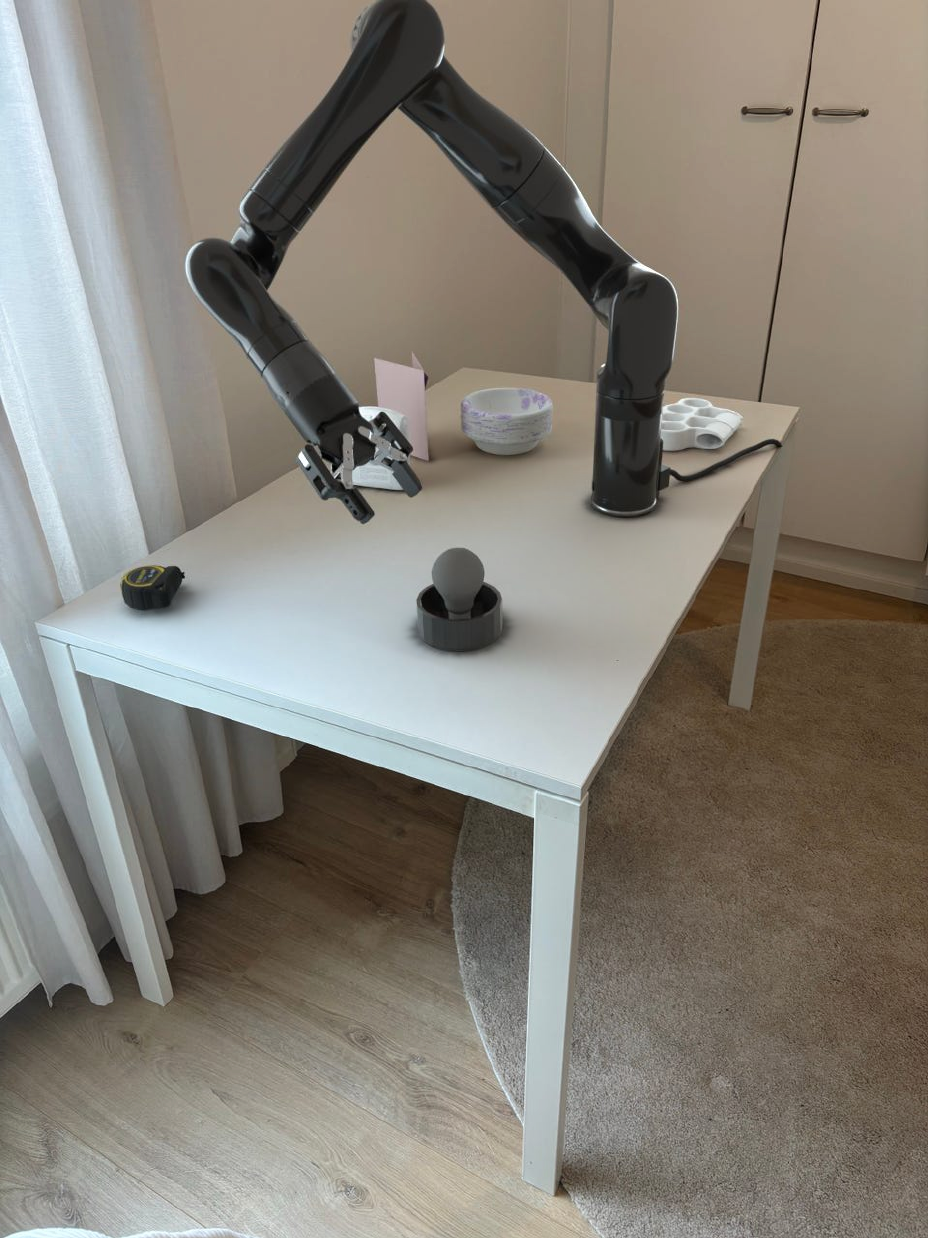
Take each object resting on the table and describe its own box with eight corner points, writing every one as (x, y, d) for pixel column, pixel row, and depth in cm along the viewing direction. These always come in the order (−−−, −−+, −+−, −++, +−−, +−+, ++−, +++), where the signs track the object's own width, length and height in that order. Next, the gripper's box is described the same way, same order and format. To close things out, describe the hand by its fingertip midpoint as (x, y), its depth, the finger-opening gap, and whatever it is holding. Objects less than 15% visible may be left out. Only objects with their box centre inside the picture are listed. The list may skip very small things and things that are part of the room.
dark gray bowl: (462, 598, 117) (461, 570, 115) (519, 628, 111) (519, 598, 109) (401, 628, 112) (399, 599, 110) (457, 661, 106) (456, 631, 104)
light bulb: (480, 642, 108) (478, 564, 103) (429, 637, 109) (425, 561, 104) (489, 615, 113) (488, 540, 108) (440, 611, 114) (437, 536, 109)
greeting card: (433, 460, 156) (429, 370, 148) (389, 465, 155) (382, 374, 147) (421, 436, 166) (416, 350, 158) (379, 440, 164) (372, 354, 156)
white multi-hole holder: (715, 459, 153) (629, 445, 159) (746, 423, 166) (666, 411, 172) (718, 439, 151) (631, 425, 157) (749, 405, 164) (667, 393, 171)
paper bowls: (567, 438, 162) (568, 393, 158) (523, 469, 152) (524, 421, 147) (491, 424, 170) (490, 380, 165) (444, 452, 159) (442, 406, 155)
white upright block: (415, 482, 149) (411, 405, 142) (406, 493, 145) (401, 414, 139) (355, 476, 151) (347, 400, 145) (344, 486, 148) (336, 409, 141)
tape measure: (171, 616, 116) (165, 589, 114) (116, 615, 116) (109, 589, 114) (187, 588, 122) (182, 562, 120) (135, 588, 122) (129, 562, 120)
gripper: (278, 390, 101) (368, 513, 101) (366, 357, 111) (448, 469, 111) (251, 429, 107) (337, 545, 107) (337, 393, 117) (415, 500, 117)
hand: (393, 506), depth 109 cm, fingers open, 8 cm apart
